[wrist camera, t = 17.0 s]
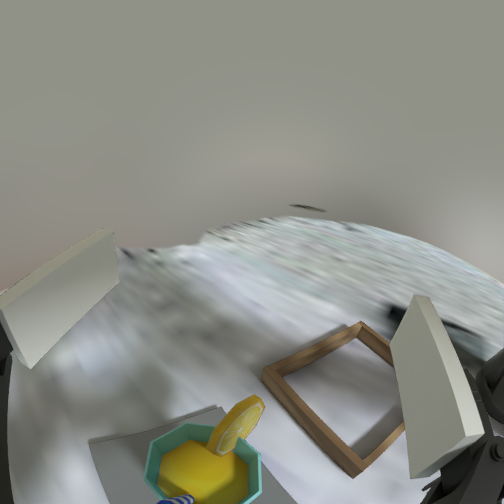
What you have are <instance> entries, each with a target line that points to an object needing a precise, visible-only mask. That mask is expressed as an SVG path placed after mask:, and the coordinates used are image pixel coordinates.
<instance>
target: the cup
mask: <svg viewBox="0 0 504 504" xmlns="http://www.w3.org/2000/svg"><path fill="white" fill-rule="evenodd" d="M264 408H265V406H264V403H263V401H262V399H261V398H259V397H258V396H256V395H255V394H254V395H252V396H250V397H248V398H247V399H245V400H243V401H241V402H239V403H237V404H236V405H235V406H234V407H233V408H232V409H231V410H230V411H229V413H228V414H227V415H226V416H225V417H224V418H223V419H222V420H221V421H220V423H219V424H218V425H217V426H212V425H203V424H195V423H188V422H185V423H183V424H182V425H180V426H178V427H177V428H175V429H173V430H171V431H169V432H168V433H166V434H164V435H162V436H160V437H159V438H157V439H155V440H153V441H151V442H150V446H149V451H148V456H147V461H146V466H145V471H144V476H143V480H144V481H145V483H146V484H147V485H148V486H149V487H150V489H151V490H152V491H153V492H154V493H155V495H156V496H157V497H158V498H159V499H160V500H161V501H159V502H158V503H156V504H249V503H250V502H251V501H253V500H254V499H255V498H256V497H258V496H259V495H260V494H261V493H262V478H261V454H260V453H259V452H257V451H256V450H255V449H254V448H253V447H251V446H250V445H249V444H248V443H247V442H245V441H244V439H245V438H246V437H247V436H248V435H249V433H250V432H251V431H252V430H253V429H254V428H255V426H256V425H257V423H258V421H259V419H260V417H261V415H262V413H263V410H264Z"/></svg>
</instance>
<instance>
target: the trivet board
mask: <svg viewBox="0 0 504 504" xmlns="http://www.w3.org/2000/svg"><path fill="white" fill-rule="evenodd" d="M226 415H227V414H226V413H225V411H224V410H223V408H222V407H218V408H216V409H213V410H210V411H208V412H205V413H202V414H199V415H196V416H194V417H191V418H188V419H185V420H182V421H179V422H175V423H172V424H169V425H166V426H162V427H159V428H155V429H152V430H148V431H145V432H141V433H137V434H133V435H129V436H125V437H121V438H116V439H112V440H107V441H102V442H97V443H92V444H89V447H90V450H91V453H92V457H93V460H94V463H95V466H96V469H97V471H98V474H99V477H100V480H101V482H102V485H103V487H104V490H105V492H106V495H107V497H108V500H109V502H110V504H156V503H158V502H159V501H161V500H160V499H159V498H158V497H157V496H156V495H155V493H154V492H153V491H152V490H151V489H150V487H149V486H148V485H147V484H146V483H145V481H144V480H143V476H144V471H145V466H146V461H147V456H148V451H149V446H150V442H151V441H153V440H155V439H157V438H159V437H160V436H162V435H164V434H166V433H168V432H169V431H171V430H173V429H175V428H177V427H178V426H180V425H182V424H183V423H185V422H188V423H195V424H203V425H212V426H217V425H218V424H219V423H220V421H221V420H222V419H223V418H224V417H225V416H226ZM244 441H245V439H244ZM245 442H246V441H245ZM261 478H262V493H261V494H260V495H259V496H258V497H256V498H255V499H254V500H253V501H251V502H250V503H249V504H297V502H296V501H295V500H294V499H293V498H292V497H291V496H290V495H289V494H288V492H287V491H286V490H285V489H284V488H283V487H282V486H281V484H280V483H279V482H278V481H277V480H276V479H275V477H274V476H273V475H272V474H271V473H270V471H269V470H268V469H267V468H266V466H265V465H264V464H263V463H262V461H261Z"/></svg>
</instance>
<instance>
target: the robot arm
mask: <svg viewBox="0 0 504 504" xmlns="http://www.w3.org/2000/svg"><path fill="white" fill-rule="evenodd" d="M118 283H119V275H118V267H117V258H116V248H115V237H114V231H112V230H107V229H103V228H102V229H100V230H98V231H97V232H95V233H93V234H91V235H90V236H88V237H86V238H85V239H83V240H82V241H80V242H78V243H77V244H75V245H73V246H72V247H70V248H68V249H67V250H65V251H64V252H62V253H61V254H59V255H57V256H56V257H54V258H53V259H51V260H50V261H48V262H47V263H45V264H44V265H42V266H41V267H39V268H38V269H37V270H35V271H34V272H32V273H31V274H29V275H28V276H26V277H25V278H23V279H22V280H21V281H19V282H18V283H16V284H15V285H14V286H12V287H11V288H9V289H8V290H7V291H5V292H4V293H3V294H2V295H0V504H14V501H13V495H12V489H11V482H10V473H9V463H8V445H7V413H8V395H9V384H10V374H11V367H12V356H11V354H10V352H11V351H12V350H14V352H15V353H16V355H17V357H18V359H19V361H20V362H22V363H23V364H24V365H25V366H27V367H28V368H29V369H31V368H32V367H33V366H34V365H35V364H36V363H37V362H38V361H39V360H40V359H41V358H42V357H43V356H44V355H45V354H46V353H47V352H48V350H49V349H50V348H51V347H52V346H53V345H54V344H55V343H56V342H57V341H58V340H59V339H60V338H61V337H62V336H63V335H64V334H65V333H66V332H67V331H68V330H69V329H70V328H71V327H72V326H73V325H74V324H75V323H76V322H78V321H79V320H80V319H81V318H82V317H83V316H84V315H85V314H86V313H87V312H88V311H89V310H90V309H91V308H92V307H93V306H94V305H95V304H96V303H98V302H99V301H100V300H101V299H102V298H103V297H104V296H105V295H106V294H107V293H108V292H109V291H111V290H112V289H113V288H114V287H115V286H116V285H117V284H118ZM389 345H390V349H391V354H392V358H393V363H394V367H395V372H396V377H397V382H398V387H399V393H400V399H401V404H402V411H403V417H404V424H405V432H406V440H407V449H408V459H409V471H410V479H416V478H424V477H429V476H431V475H432V474H434V473H435V472H437V471H438V470H440V472H441V476H440V477H439V478H437V479H436V480H434V481H432V482H431V483H429V484H428V485H426V486H425V487H424V488H423V489H422V491H425V490H427V489H428V488H430V487H431V489H430V490H429V492H427V495H426V496H425V498H424V499H423V501H422V502H421V503H420V504H502V499H503V498H504V438H502V437H500V436H494V434H493V431H492V428H491V424H490V421H489V418H488V415H487V412H488V413H489V414H490V415H491V416H492V417H493V418H495V419H496V420H497V421H499V422H501V423H503V424H504V348H503V349H502V350H501V351H499V352H498V353H497V354H496V355H494V356H493V357H492V358H491V359H489V360H488V361H487V362H486V363H485V364H484V365H483V367H482V368H481V369H480V371H479V372H478V374H477V377H476V382H475V379H474V378H473V377H472V375H471V374H470V373H469V371H468V370H467V369H463V368H462V366H461V363H460V361H459V359H458V356H457V354H456V352H455V349H454V347H453V345H452V343H451V340H450V338H449V336H448V334H447V332H446V330H445V328H444V326H443V324H442V322H441V319H440V317H439V315H438V314H437V312H436V310H435V308H434V306H433V304H432V302H431V300H430V298H429V297H425V296H420V295H415V294H414V296H413V298H412V300H411V302H410V305H409V307H408V309H407V311H406V313H405V315H404V317H403V319H402V321H401V323H400V325H399V327H398V329H397V331H396V333H395V335H394V337H393V339H392V341H391V343H390V344H389ZM486 410H487V412H486Z"/></svg>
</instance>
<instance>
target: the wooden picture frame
mask: <svg viewBox="0 0 504 504" xmlns="http://www.w3.org/2000/svg"><path fill="white" fill-rule="evenodd" d="M356 337H357V338H359V339H360V340H361V341H362V342H364V343H365V344H366V345H367V346H369V347H370V348H371V349H372V350H373V351H375V352H376V353H377V354H378V355H380V356H381V357H382V358H383V359H385V360H386V361H387V362H388V363H390V364H391V365H392V366H393V367H394V363H393V358H392V354H391V349H390V345H389V344H390V342H388V341H387V340H386V339H384V338H383V337H382V336H380V335H379V334H378V333H377V332H375V331H374V330H373V329H371V328H370V327H369V326H367V325H366V324H365V323H363V322H362V321H360V322H358V323H356V324H354V325H352V326H350V327H349V328H347V329H345V330H343V331H341V332H339V333H337V334H335V335H333V336H331V337H329V338H327V339H325V340H323V341H321V342H319V343H317V344H315V345H313V346H311V347H309V348H307V349H305V350H303V351H300V352H298V353H296V354H294V355H292V356H289V357H287V358H285V359H283V360H280V361H278V362H276V363H274V364H271V365H269V366H266V367H264V369H263V373H262V377H261V380H262V381H263V383H264V384H265V385H266V386H267V387H268V389H269V390H270V391H271V392H272V393H273V394H274V396H275V397H276V398H277V399H278V400H279V401H280V402H281V404H282V405H283V406H284V407H285V408H286V409H287V410H288V412H289V413H290V414H291V415H292V416H293V417H294V418H295V419H296V420H297V422H298V423H299V424H300V425H301V426H302V427H303V428H304V429H305V430H306V431H307V432H308V434H309V435H310V436H311V437H312V438H313V439H314V440H315V441H316V442H317V443H318V444H319V445H320V446H321V447H322V448H323V449H324V450H325V451H326V452H327V453H328V454H329V455H330V456H331V458H332V459H333V460H334V461H335V462H336V463H337V464H338V465H339V466H340V467H342V468H343V469H344V470H345V471H346V472H347V473H348V474H349V475H350V476H351V477H352V478H355V477H356V476H357V475H359V474H360V473H361V472H363V471H364V470H365V469H366V468H367V467H368V466H369V465H371V464H372V463H373V462H374V461H375V460H376V459H377V458H378V457H379V456H380V455H381V454H382V453H383V452H384V451H385V450H386V449H387V448H388V447H389V446H390V445H391V444H392V443H393V442H394V441H395V440H396V439H397V438H398V437H399V436H400V435H401V433H402V432H403V431H404V430H405V424H404V421H403V422H402V423H401V424H400V425H399V426H398V427H397V428H396V429H395V430H394V431H393V432H392V433H391V434H390V435H389V436H388V437H387V438H386V439H385V440H384V441H383V442H382V443H381V444H380V445H379V446H378V447H377V448H376V449H375V450H374V451H373V452H372V453H371V454H369V455H368V456H367V457H366V458H365V459H364V460H362V459H361V458H360V457H359V456H358V455H357V454H356V453H355V452H354V451H353V450H352V449H350V448H349V447H348V446H347V445H346V444H345V443H344V442H343V441H342V440H341V439H340V438H339V437H338V436H337V435H336V434H335V433H334V432H333V431H332V430H331V429H330V428H329V427H328V426H327V425H326V424H325V423H324V422H323V421H322V420H321V419H320V418H319V417H318V416H317V415H316V414H315V413H314V411H313V410H312V409H311V408H310V407H309V406H308V405H307V404H306V403H305V402H304V401H303V400H302V399H301V398H300V397H299V396H298V395H297V394H296V392H295V391H294V390H293V389H292V388H291V387H290V386H289V385H288V384H287V383H286V382H285V381H284V379H283V378H282V377H283V376H285V375H287V374H289V373H291V372H293V371H295V370H297V369H299V368H301V367H303V366H305V365H307V364H309V363H311V362H313V361H315V360H317V359H319V358H321V357H323V356H324V355H326V354H328V353H330V352H332V351H334V350H335V349H337V348H339V347H341V346H343V345H344V344H346V343H348V342H349V341H351V340H353V339H355V338H356Z"/></svg>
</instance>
